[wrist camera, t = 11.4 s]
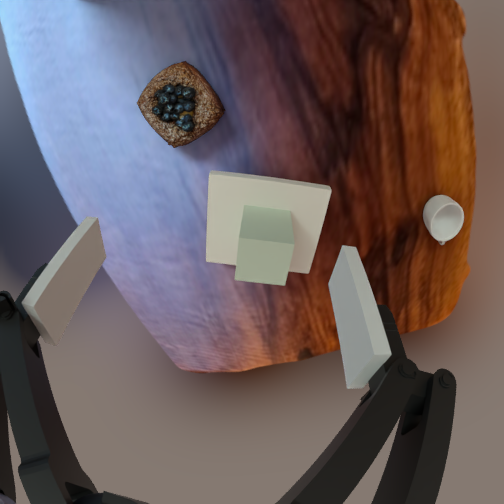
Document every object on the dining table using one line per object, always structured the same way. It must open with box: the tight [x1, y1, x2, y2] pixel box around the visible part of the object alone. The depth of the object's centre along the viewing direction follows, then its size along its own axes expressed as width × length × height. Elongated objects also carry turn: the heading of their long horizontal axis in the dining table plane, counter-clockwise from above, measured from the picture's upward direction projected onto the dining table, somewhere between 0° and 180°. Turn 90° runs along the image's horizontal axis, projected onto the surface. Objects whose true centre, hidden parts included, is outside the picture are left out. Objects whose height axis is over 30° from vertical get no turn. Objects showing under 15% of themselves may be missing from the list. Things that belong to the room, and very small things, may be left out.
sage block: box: [235, 205, 295, 286], centre depth 42 cm, size 7×7×9 cm
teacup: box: [423, 195, 464, 245], centre depth 44 cm, size 10×8×5 cm
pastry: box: [137, 61, 225, 148], centre depth 36 cm, size 11×12×6 cm
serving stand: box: [206, 170, 332, 274], centre depth 47 cm, size 16×18×4 cm
